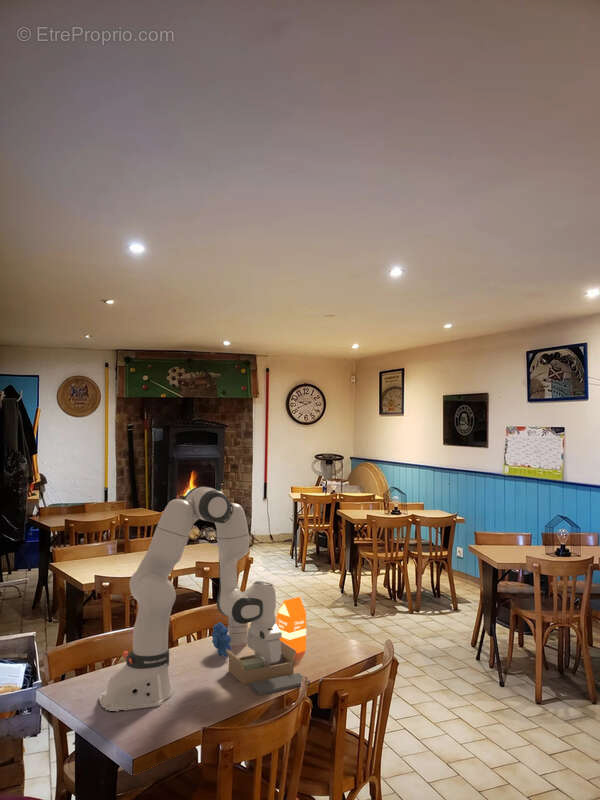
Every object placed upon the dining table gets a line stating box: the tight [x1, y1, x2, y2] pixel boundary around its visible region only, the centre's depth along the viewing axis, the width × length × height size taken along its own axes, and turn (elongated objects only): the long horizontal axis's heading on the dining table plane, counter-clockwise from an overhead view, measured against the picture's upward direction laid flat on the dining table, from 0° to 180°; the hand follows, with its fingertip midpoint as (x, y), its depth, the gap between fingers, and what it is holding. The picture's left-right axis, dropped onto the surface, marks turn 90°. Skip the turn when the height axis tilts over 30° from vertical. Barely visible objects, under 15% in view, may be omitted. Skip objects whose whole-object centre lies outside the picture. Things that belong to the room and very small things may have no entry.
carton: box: [226, 640, 296, 685], centre depth 215 cm, size 22×13×8 cm, turn 119°
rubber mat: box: [248, 672, 311, 696], centre depth 204 cm, size 19×8×1 cm, turn 120°
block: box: [242, 653, 283, 671], centre depth 215 cm, size 15×4×6 cm, turn 119°
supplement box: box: [227, 617, 249, 647], centre depth 246 cm, size 7×7×13 cm
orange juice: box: [276, 596, 307, 654], centre depth 238 cm, size 8×9×20 cm
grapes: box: [211, 621, 233, 657], centre depth 231 cm, size 12×7×12 cm, turn 40°
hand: (262, 667), depth 215 cm, fingers closed on block, 4 cm apart
